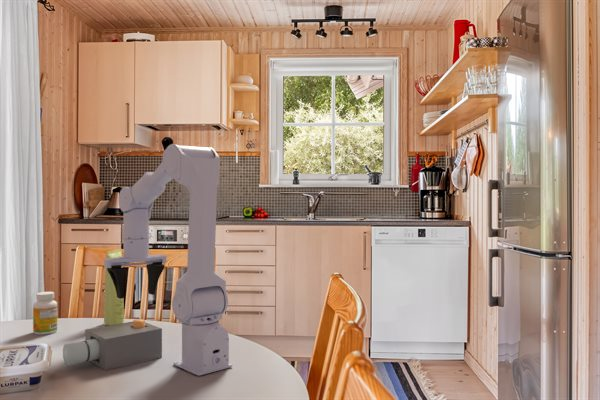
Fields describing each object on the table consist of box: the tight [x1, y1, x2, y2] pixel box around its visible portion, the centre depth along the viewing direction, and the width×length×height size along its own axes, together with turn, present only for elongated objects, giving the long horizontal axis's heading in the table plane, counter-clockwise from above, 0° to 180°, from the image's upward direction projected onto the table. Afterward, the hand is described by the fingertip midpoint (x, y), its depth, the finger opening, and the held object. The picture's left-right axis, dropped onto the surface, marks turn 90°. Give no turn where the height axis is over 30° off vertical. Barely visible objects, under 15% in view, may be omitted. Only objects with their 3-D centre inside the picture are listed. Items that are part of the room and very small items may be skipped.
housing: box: [84, 321, 163, 371], centre depth 108 cm, size 12×10×6 cm
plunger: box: [132, 318, 146, 329], centre depth 111 cm, size 2×2×3 cm
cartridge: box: [62, 339, 100, 366], centre depth 105 cm, size 13×4×4 cm, turn 133°
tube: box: [103, 248, 125, 326], centre depth 138 cm, size 6×5×20 cm
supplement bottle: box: [32, 291, 58, 336], centre depth 129 cm, size 5×5×10 cm
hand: (136, 296), depth 123 cm, fingers open, 7 cm apart
